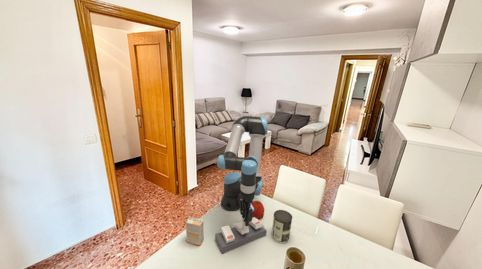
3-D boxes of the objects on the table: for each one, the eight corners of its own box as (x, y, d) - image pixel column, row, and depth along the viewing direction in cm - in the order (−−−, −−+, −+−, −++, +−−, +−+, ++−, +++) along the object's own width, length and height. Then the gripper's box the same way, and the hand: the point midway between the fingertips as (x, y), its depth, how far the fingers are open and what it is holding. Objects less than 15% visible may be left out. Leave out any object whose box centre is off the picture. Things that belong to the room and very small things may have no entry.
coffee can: (289, 231, 115) (291, 211, 112) (289, 244, 105) (292, 223, 102) (271, 228, 117) (274, 208, 113) (271, 241, 107) (273, 219, 104)
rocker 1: (220, 230, 105) (221, 227, 104) (228, 227, 107) (228, 224, 106) (226, 243, 99) (227, 240, 98) (234, 240, 101) (234, 237, 100)
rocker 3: (248, 223, 114) (248, 219, 114) (254, 221, 116) (254, 216, 116) (255, 229, 107) (255, 224, 107) (262, 226, 109) (262, 222, 109)
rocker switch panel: (215, 239, 106) (215, 232, 105) (256, 224, 120) (257, 217, 118) (222, 254, 98) (222, 246, 96) (266, 235, 111) (267, 228, 110)
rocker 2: (235, 228, 110) (234, 223, 110) (241, 225, 112) (241, 221, 112) (241, 234, 103) (241, 230, 103) (248, 231, 105) (248, 227, 105)
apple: (257, 209, 134) (258, 195, 131) (267, 217, 126) (268, 203, 123) (245, 213, 129) (246, 200, 126) (254, 223, 120) (255, 208, 118)
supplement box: (204, 239, 106) (204, 219, 102) (200, 246, 101) (199, 225, 98) (190, 236, 108) (190, 216, 104) (186, 242, 103) (185, 222, 100)
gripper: (235, 185, 102) (233, 223, 107) (248, 198, 90) (245, 240, 96) (247, 182, 105) (244, 219, 111) (261, 195, 94) (257, 235, 100)
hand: (245, 229), depth 104 cm, fingers closed
